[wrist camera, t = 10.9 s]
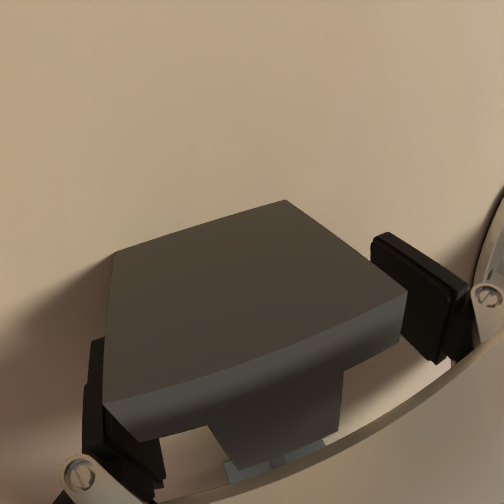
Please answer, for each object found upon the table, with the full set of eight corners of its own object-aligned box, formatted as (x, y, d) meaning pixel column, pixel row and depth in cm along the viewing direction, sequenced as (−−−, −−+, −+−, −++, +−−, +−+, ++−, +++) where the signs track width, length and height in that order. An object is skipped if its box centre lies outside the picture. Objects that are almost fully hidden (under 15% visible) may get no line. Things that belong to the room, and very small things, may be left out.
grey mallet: (298, 195, 11) (424, 282, 6) (316, 455, 22) (346, 508, 17) (101, 256, 9) (79, 408, 4) (240, 484, 21) (263, 540, 16)
